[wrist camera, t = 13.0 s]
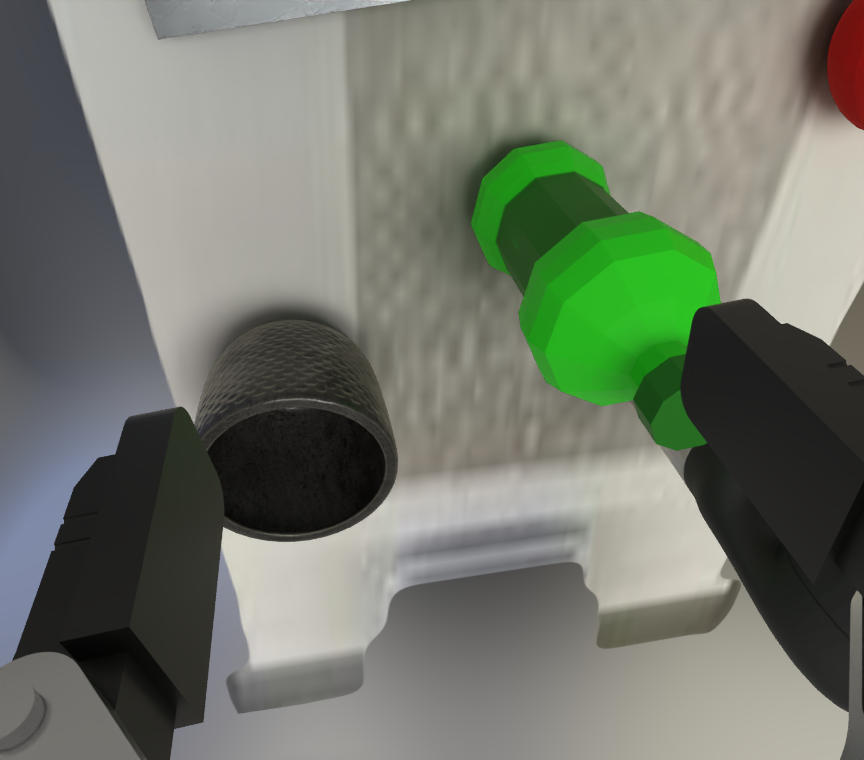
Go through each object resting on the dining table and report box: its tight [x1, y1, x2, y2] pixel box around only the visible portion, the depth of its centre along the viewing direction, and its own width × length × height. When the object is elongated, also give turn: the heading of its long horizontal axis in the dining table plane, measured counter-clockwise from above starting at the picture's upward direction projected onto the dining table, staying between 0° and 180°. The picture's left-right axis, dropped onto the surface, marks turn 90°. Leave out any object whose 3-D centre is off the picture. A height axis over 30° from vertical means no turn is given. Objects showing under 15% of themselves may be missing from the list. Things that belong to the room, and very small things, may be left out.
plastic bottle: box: [471, 140, 721, 451], centre depth 37 cm, size 10×10×25 cm
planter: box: [194, 320, 398, 542], centre depth 47 cm, size 14×14×13 cm
